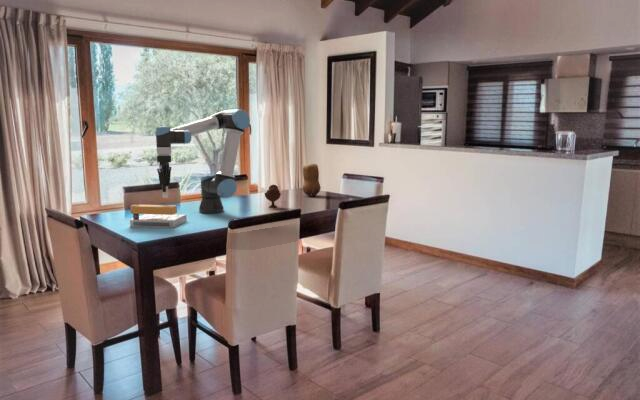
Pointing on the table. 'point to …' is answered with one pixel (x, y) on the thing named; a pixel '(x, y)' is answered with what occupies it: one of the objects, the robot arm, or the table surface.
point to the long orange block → (154, 209)
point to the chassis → (157, 220)
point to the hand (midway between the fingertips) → (165, 197)
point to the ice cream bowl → (273, 195)
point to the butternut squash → (311, 179)
